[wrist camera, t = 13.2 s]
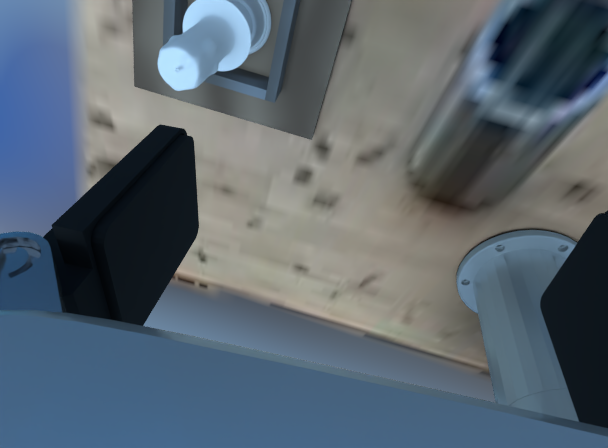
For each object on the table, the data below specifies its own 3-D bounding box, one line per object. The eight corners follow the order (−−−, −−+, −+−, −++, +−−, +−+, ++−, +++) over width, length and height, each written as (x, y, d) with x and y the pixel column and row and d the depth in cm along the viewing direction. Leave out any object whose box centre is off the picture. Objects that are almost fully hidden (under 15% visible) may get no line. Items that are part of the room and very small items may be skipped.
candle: (245, -39, 29) (177, -3, 20) (285, 33, 32) (241, 95, 23) (188, 2, 32) (104, 51, 22) (229, 66, 34) (169, 134, 25)
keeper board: (374, -79, 28) (371, -74, 25) (313, 134, 38) (307, 153, 35) (136, -154, 27) (108, -158, 25) (139, 82, 37) (120, 97, 35)
